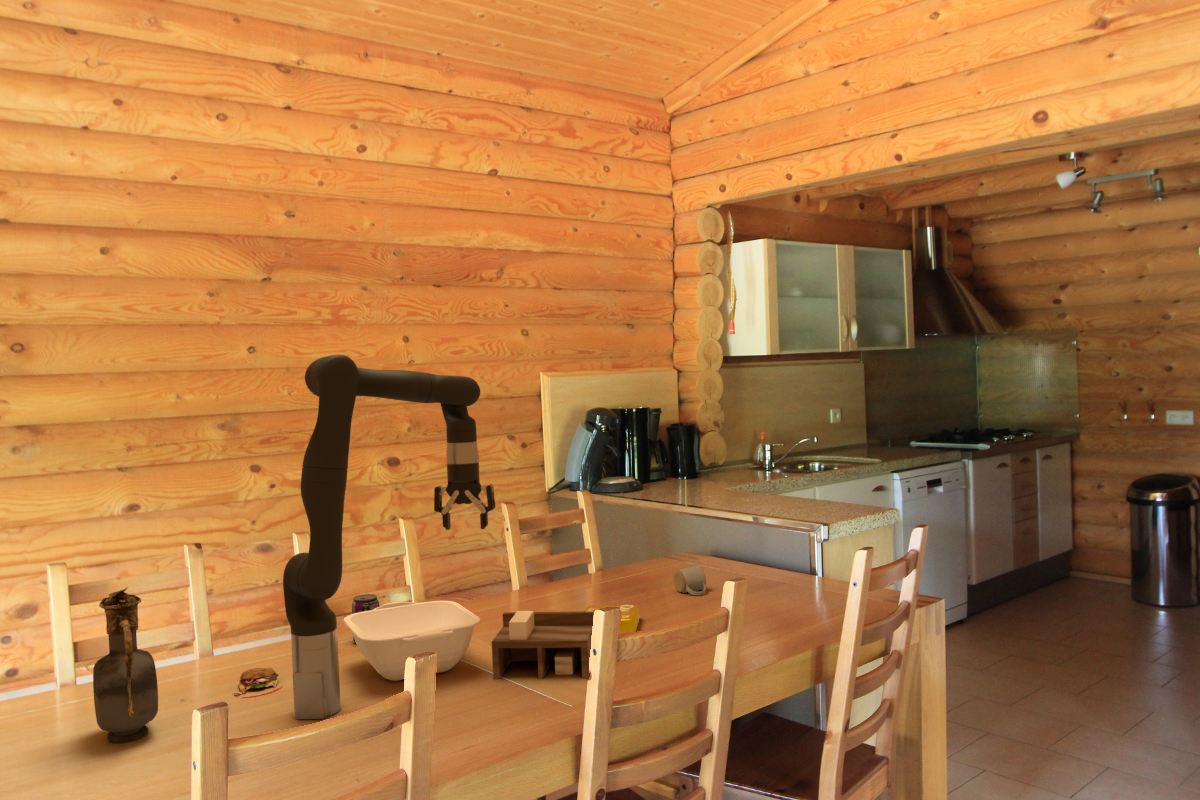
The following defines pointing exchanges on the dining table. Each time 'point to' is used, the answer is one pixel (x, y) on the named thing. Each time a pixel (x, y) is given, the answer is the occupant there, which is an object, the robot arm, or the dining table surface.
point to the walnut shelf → (547, 643)
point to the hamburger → (257, 680)
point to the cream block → (521, 625)
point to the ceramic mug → (690, 580)
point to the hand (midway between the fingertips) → (465, 529)
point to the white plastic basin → (412, 634)
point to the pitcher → (124, 674)
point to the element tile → (623, 616)
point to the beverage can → (364, 603)
